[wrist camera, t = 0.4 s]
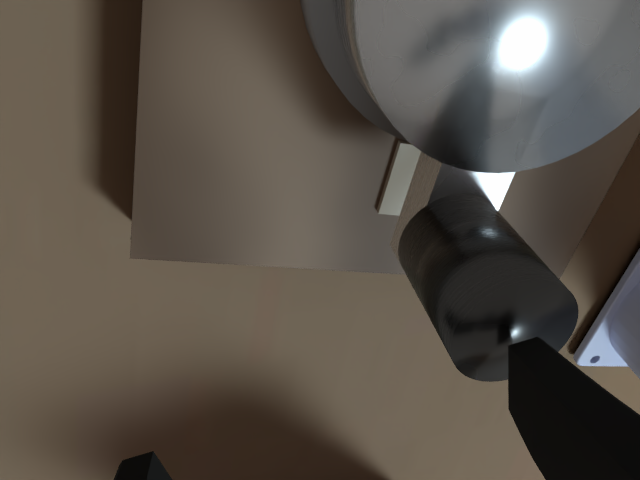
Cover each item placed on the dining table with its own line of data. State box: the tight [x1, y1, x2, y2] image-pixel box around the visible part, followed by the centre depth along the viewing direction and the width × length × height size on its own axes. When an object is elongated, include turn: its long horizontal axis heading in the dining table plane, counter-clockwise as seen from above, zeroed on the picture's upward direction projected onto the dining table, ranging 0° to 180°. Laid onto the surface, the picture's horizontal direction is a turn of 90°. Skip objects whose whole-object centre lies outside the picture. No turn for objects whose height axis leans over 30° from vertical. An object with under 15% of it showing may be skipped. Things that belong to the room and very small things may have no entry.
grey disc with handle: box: [334, 0, 640, 382], centre depth 12 cm, size 11×8×6 cm
